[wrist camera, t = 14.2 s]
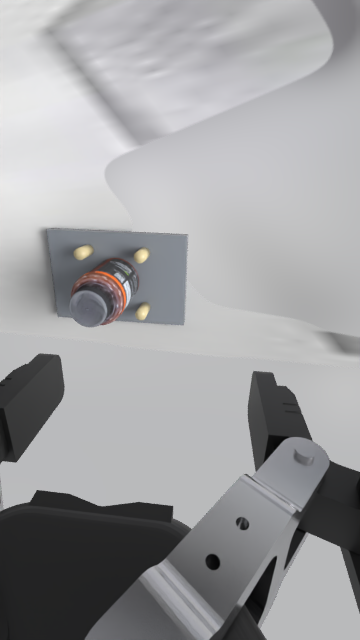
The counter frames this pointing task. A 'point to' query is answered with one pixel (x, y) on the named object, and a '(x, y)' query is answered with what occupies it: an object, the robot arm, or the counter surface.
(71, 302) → the supplement bottle
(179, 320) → the plate
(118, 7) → the counter surface
